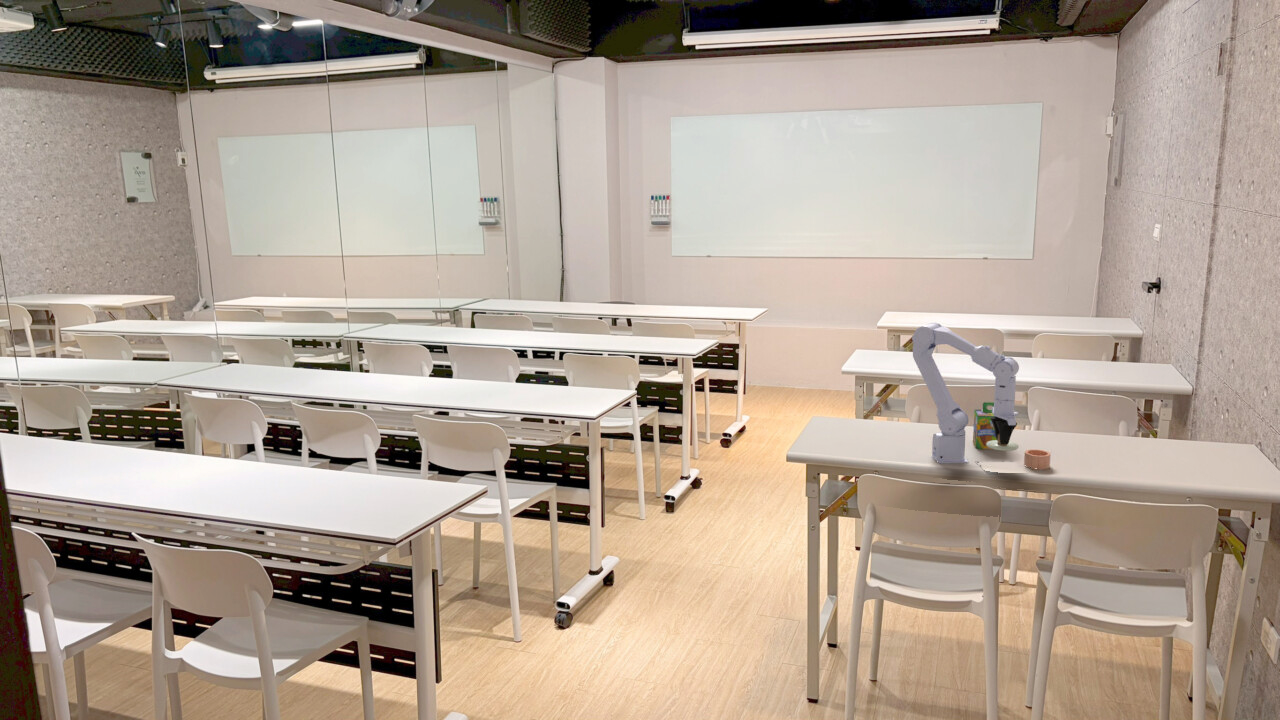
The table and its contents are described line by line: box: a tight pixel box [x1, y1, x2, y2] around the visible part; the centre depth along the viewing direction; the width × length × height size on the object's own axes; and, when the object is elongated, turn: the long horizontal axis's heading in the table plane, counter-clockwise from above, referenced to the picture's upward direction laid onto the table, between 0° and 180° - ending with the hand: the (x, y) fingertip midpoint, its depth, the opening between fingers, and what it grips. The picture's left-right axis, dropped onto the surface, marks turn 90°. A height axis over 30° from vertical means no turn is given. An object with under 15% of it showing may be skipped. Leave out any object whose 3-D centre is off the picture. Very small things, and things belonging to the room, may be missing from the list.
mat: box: [976, 461, 1007, 475], centre depth 261 cm, size 12×12×1 cm
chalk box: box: [972, 401, 997, 450], centre depth 282 cm, size 9×9×15 cm
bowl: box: [1023, 449, 1052, 470], centre depth 261 cm, size 7×7×4 cm
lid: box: [986, 434, 1020, 452], centre depth 260 cm, size 9×9×4 cm
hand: (1002, 442), depth 260 cm, fingers closed on lid, 3 cm apart
